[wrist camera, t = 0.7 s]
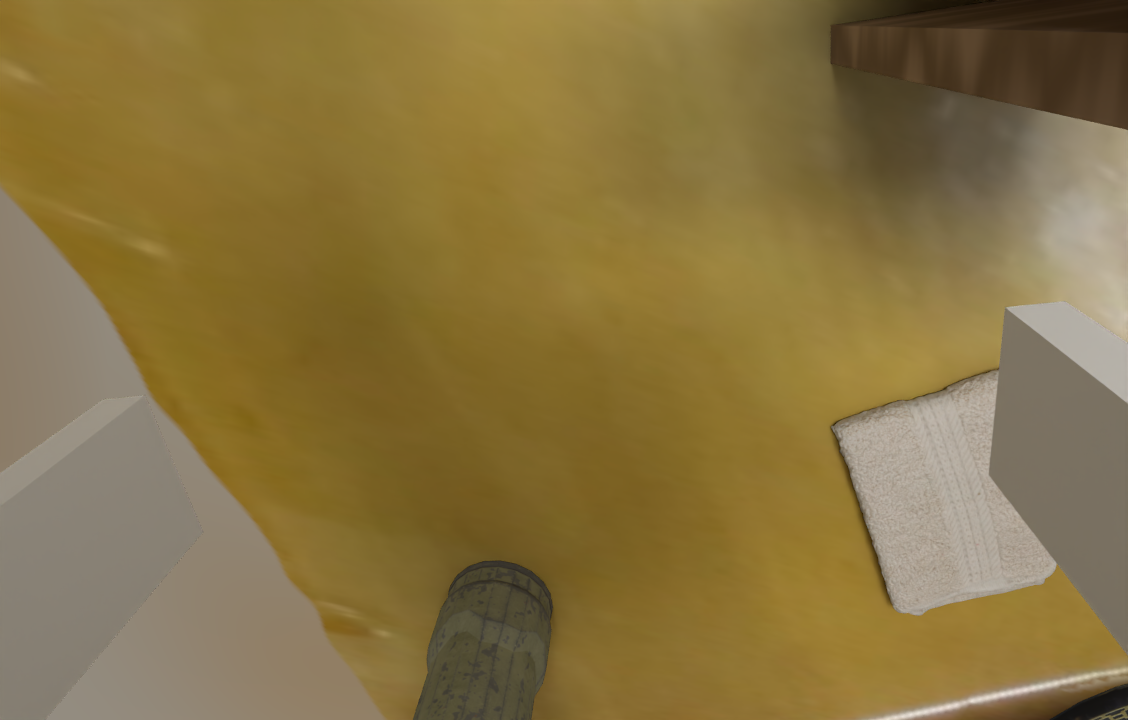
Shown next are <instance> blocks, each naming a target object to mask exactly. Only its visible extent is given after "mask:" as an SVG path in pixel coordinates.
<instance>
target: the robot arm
mask: <svg viewBox="0 0 1128 720" xmlns="http://www.w3.org/2000/svg"><path fill="white" fill-rule="evenodd" d="M989 476H990V477H991V479H992V480H993V481H994V483H995V484H996V485H997V487H998V488H999V489H1000V490H1001V492H1002V493H1003V494H1004V496H1005V497H1006V498H1007V500H1008V501H1009V502H1010V503H1011V505H1012V506H1013V507H1014V509H1015V510H1016V511H1017V512H1018V514H1019V515H1020V516H1021V518H1022V519H1023V520H1024V522H1025V523H1026V524H1027V525H1028V527H1029V528H1030V529H1031V531H1032V532H1033V533H1034V534H1035V536H1036V537H1037V538H1038V540H1039V541H1040V542H1041V544H1042V545H1043V546H1044V547H1045V549H1046V550H1047V551H1048V553H1049V554H1050V555H1051V556H1052V558H1053V559H1054V560H1055V562H1056V563H1057V564H1058V566H1059V567H1060V568H1061V569H1062V571H1063V572H1064V573H1065V575H1066V576H1067V577H1068V579H1069V580H1070V581H1071V582H1072V584H1073V585H1074V586H1075V588H1076V589H1077V590H1078V591H1079V593H1080V594H1081V595H1082V597H1083V598H1084V599H1085V601H1086V602H1087V603H1088V604H1089V606H1090V607H1091V608H1092V610H1093V611H1094V612H1095V613H1096V615H1097V616H1098V617H1099V619H1100V620H1101V621H1102V623H1103V624H1104V625H1105V626H1106V628H1107V629H1108V630H1109V632H1110V633H1111V634H1112V635H1113V637H1114V638H1115V639H1116V641H1117V642H1118V643H1119V645H1120V646H1121V647H1122V648H1123V650H1124V651H1125V652H1126V654H1127V655H1128V342H1126V341H1125V340H1123V339H1121V338H1120V337H1118V336H1117V335H1115V334H1114V333H1112V332H1111V331H1109V330H1108V329H1106V328H1105V327H1103V326H1102V325H1100V324H1099V323H1097V322H1096V321H1094V320H1093V319H1091V318H1090V317H1088V316H1087V315H1085V314H1084V313H1082V312H1081V311H1079V310H1078V309H1076V308H1075V307H1073V306H1071V305H1070V304H1068V303H1067V302H1065V301H1062V302H1053V303H1043V304H1033V305H1023V306H1013V307H1005V313H1004V324H1003V334H1002V344H1001V354H1000V364H999V374H998V385H997V395H996V405H995V415H994V425H993V435H992V446H991V456H990V466H989ZM202 533H203V530H202V527H201V525H200V523H199V521H198V518H197V516H196V513H195V511H194V509H193V506H192V504H191V502H190V499H189V497H188V495H187V492H186V490H185V487H184V486H183V483H182V480H181V478H180V476H179V474H178V471H177V469H176V466H175V464H174V462H173V459H172V457H171V455H170V453H169V450H168V448H167V445H166V443H165V441H164V438H163V436H162V434H161V431H160V429H159V426H158V424H157V422H156V419H155V417H154V415H153V413H152V410H151V408H150V406H149V403H148V401H147V399H146V396H145V395H141V396H131V397H122V398H112V399H103V400H102V401H100V402H99V403H97V404H96V405H94V406H93V407H92V408H90V409H89V410H88V411H86V412H85V413H83V414H82V415H81V416H79V417H78V418H76V419H75V420H74V421H72V422H71V423H70V424H68V425H67V426H65V427H64V428H62V429H61V430H60V431H58V432H57V433H55V434H54V435H53V436H51V437H50V438H48V439H47V440H46V441H44V442H43V443H41V444H40V445H39V446H37V447H36V448H34V449H33V450H32V451H30V452H29V453H28V454H26V455H25V456H23V457H22V458H21V459H19V460H18V461H17V462H15V463H14V464H12V465H11V466H9V467H8V468H7V469H5V470H4V471H2V472H1V473H0V720H46V718H47V717H48V716H49V715H50V714H51V713H52V711H53V710H54V709H55V708H56V706H57V705H58V704H59V703H60V702H61V701H62V699H63V698H64V697H65V696H66V695H67V693H68V692H69V691H70V690H71V689H72V687H73V686H74V685H75V684H76V683H77V681H78V680H79V679H80V678H81V677H82V676H83V674H84V673H85V672H86V671H87V670H88V668H89V667H90V666H91V665H92V663H94V661H95V660H96V659H97V658H98V657H99V655H100V654H101V653H102V652H103V651H104V649H105V648H106V647H107V646H108V645H109V643H110V642H111V641H112V640H113V639H114V638H115V636H116V635H117V634H118V633H119V632H120V630H121V629H122V628H123V627H124V626H125V624H126V623H127V622H128V621H129V620H130V619H131V617H132V616H133V615H134V614H135V613H136V611H137V610H138V609H139V608H140V607H141V605H142V604H143V603H144V602H145V601H146V600H147V598H148V597H149V596H150V595H151V594H152V592H153V591H154V590H155V589H156V587H157V586H158V585H159V584H160V583H161V582H162V580H163V579H164V578H165V577H166V576H167V575H168V573H169V572H170V571H171V570H172V568H173V567H174V566H175V565H176V564H177V563H178V561H179V560H180V559H181V558H182V557H183V556H184V554H185V553H186V552H187V551H188V550H189V548H190V547H191V546H192V545H193V543H194V542H195V541H196V540H197V539H198V538H199V536H200V535H201V534H202Z"/></svg>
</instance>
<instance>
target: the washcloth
mask: <svg viewBox="0 0 1128 720" xmlns="http://www.w3.org/2000/svg"><path fill="white" fill-rule="evenodd" d="M998 374H999V370H993V371H990V372H988V373H985V374H980V375H977V376H974V377H971V378H968V379H965V380H963V381H960V382H958V383H954V384H952V385H950V386H948V387H947V388H946V389H945V390H942V391H939V392H936V393H934V394H928V395H926V396H921V397H917V398H915V399H913V400H909V401H904V400H898V401H897V402H892V403H890V404H888V405H885V406H881V407H877V408H875V409H871V410H869V411H863V412H862V413H860V414H857V415H853V416H850V417H848V418H846V419H842V420H841V421H839V422H836V424H835V426H831V427H832V429H833V432H834V433H835V435H836V437H837V439H838V440H839V445H840V447H841V449H840V453H841V454H842V456H843V457H844V460H845V462H846V464H847V465H848V468H849V470H850V477H851V479H852V483H853V486H854V489H855V491H856V495H857V498H858V501H859V503H860V509H861V511H862V512H863V514H864V516H863V518H864V519H865V523H866V525H867V528H869V532H870V536H871V539H872V540H873V542H872V544H873V546H874V548H875V551H876V553H877V555H878V559H879V561H878V563H879V565H880V566H881V569H882V572H881V573H882V574H883V577H884V579H885V581H886V582H885V585H886V588H887V592H888V594H889V597H890V599H891V603H892V605H893V607H894V609H895V610H896V611H897V612H899V613H910V614H913V615H917V616H919V615H922V614H923V613H924V612H926V611H927V610H929V609H931V608H936V607H939V606H943V605H945V604H949V603H955V602H961V601H965V600H970V599H973V598H978V597H983V596H987V595H993V594H999V593H1005V592H1009V591H1013V590H1016V589H1021V588H1023V587H1028V586H1032V585H1040V584H1043V583H1044V581H1045V578H1047V577H1049V576H1051V574H1052V573H1053V572H1054V571H1055V568H1056V562H1055V560H1054V559H1053V558H1052V556H1051V555H1050V554H1049V553H1048V551H1047V550H1046V549H1045V547H1044V546H1043V545H1042V544H1041V542H1040V541H1039V540H1038V538H1037V537H1036V536H1035V534H1034V533H1033V532H1032V531H1031V529H1030V528H1029V527H1028V525H1027V524H1026V523H1025V522H1024V520H1023V519H1022V518H1021V516H1020V515H1019V514H1018V512H1017V511H1016V510H1015V509H1014V507H1013V506H1012V505H1011V503H1010V502H1009V501H1008V500H1007V498H1006V497H1005V496H1004V494H1003V493H1002V492H1001V490H1000V489H999V488H998V487H997V485H996V484H995V483H994V481H993V480H992V479H991V477H990V476H989V466H990V456H991V446H992V435H993V425H994V415H995V405H996V395H997V385H998Z"/></svg>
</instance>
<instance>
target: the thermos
mask: <svg viewBox="0 0 1128 720" xmlns="http://www.w3.org/2000/svg"><path fill="white" fill-rule="evenodd" d="M552 608H553V605H552V600H551V594H550V592H549V591H548V589H547V587H546V586H545V584H544V582H543V581H542V580H541V579H539V578H538V577H537V576H536V575H535V574H534V573H533V572H532V571H530V570H528V569H525V568H523V567H521V566H519V565H517V564H513V563H508V562H504V561H484V562H480V563H477V564H474V565H471V566H469V567H467V568H466V569H465V570H463V571H462V572H461V573H459V574H458V575H457V576H456V578H455V580H454V581H453V583H452V584H451V586H450V589H449V594H448V598H447V600H446V601H445V603H444V604H443V606H442V608H441V610H440V613H439V616H438V619H437V622H436V625H435V628H434V631H433V634H432V637H431V640H430V643H429V647H428V654H427V667H428V674H427V677H426V680H425V683H424V687H423V690H422V693H421V696H420V699H419V702H418V705H417V709H416V712H415V715H414V718H413V720H531V717H532V710H533V703H534V697H535V695H536V693H537V692H538V690H539V689H540V687H541V686H542V684H543V680H544V676H545V672H546V666H547V659H548V652H549V644H550V637H551V626H550V618H551V614H552Z"/></svg>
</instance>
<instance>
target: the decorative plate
mask: <svg viewBox="0 0 1128 720" xmlns="http://www.w3.org/2000/svg"><path fill="white" fill-rule="evenodd" d="M1050 720H1128V684H1125V685H1121V686H1117V687H1114V688H1112V689H1110V690H1107V691H1105V692H1102V693H1100V694H1098V695H1095V696H1093V697H1090V698H1088V699H1086V700H1083V701H1081V702H1079V703H1077V704H1075V705H1074V706H1072V707H1070V708H1069V709H1067V710H1065V711H1064V712H1062V713H1060V714H1059V715H1057V716H1055V717H1053V718H1052V719H1050Z"/></svg>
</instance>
